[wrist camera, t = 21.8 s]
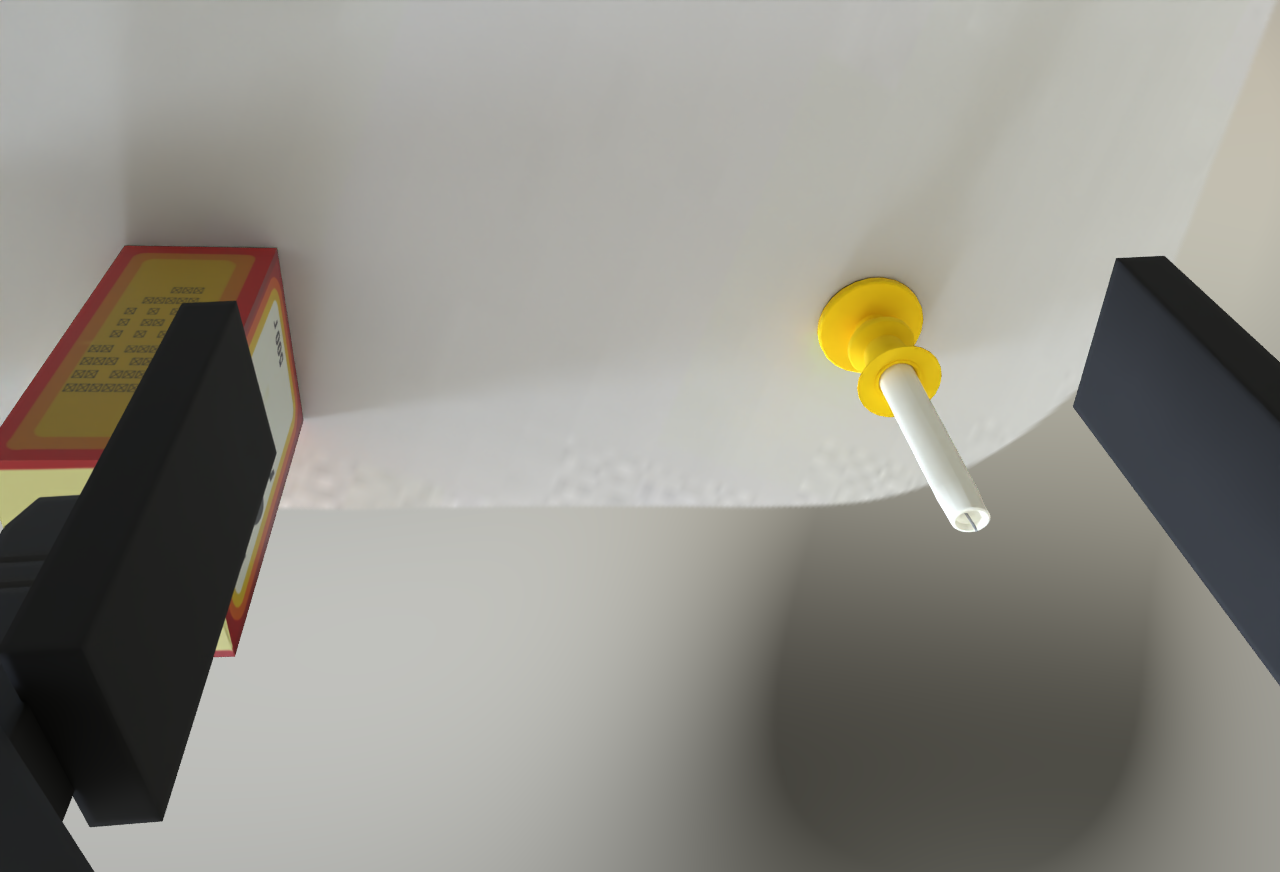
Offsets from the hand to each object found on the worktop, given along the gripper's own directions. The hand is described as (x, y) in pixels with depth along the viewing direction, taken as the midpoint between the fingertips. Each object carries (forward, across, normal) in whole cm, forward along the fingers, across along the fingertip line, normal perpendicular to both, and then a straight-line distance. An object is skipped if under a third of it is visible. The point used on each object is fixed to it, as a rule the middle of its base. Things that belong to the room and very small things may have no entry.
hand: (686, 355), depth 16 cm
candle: (+31, +13, -18) cm, 38 cm away
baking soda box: (+31, -18, -17) cm, 40 cm away
